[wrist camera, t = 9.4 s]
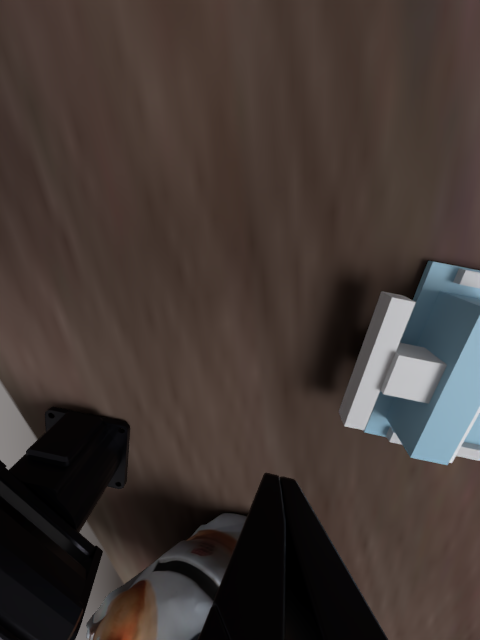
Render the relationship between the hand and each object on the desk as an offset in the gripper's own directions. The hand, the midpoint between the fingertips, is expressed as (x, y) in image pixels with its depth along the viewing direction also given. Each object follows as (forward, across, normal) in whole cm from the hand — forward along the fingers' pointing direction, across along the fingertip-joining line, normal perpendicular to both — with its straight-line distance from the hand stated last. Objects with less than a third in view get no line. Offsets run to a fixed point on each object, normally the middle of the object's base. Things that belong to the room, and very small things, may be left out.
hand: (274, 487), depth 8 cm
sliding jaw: (+11, -9, -1) cm, 14 cm away
